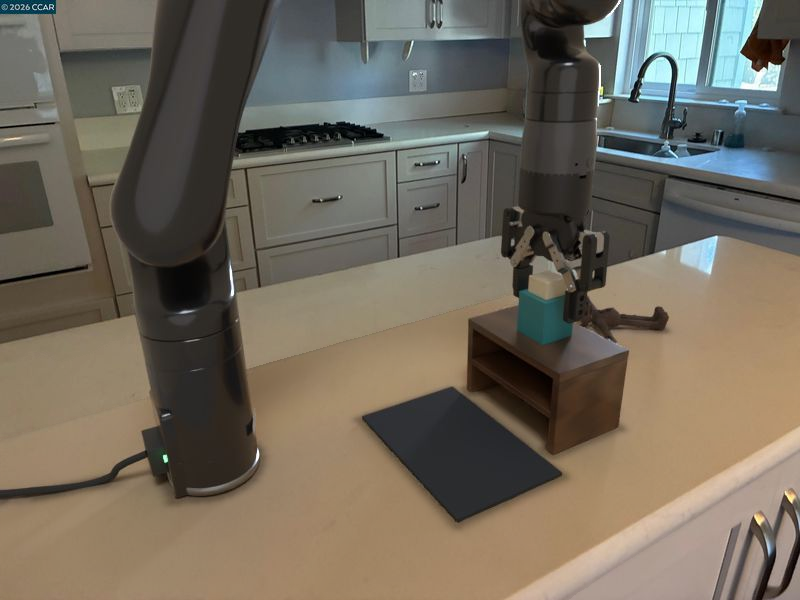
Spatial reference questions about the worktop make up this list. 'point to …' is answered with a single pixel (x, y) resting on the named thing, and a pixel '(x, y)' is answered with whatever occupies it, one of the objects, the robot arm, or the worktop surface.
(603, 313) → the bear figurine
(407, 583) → the worktop surface
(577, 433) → the shelf
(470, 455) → the mat
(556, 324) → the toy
